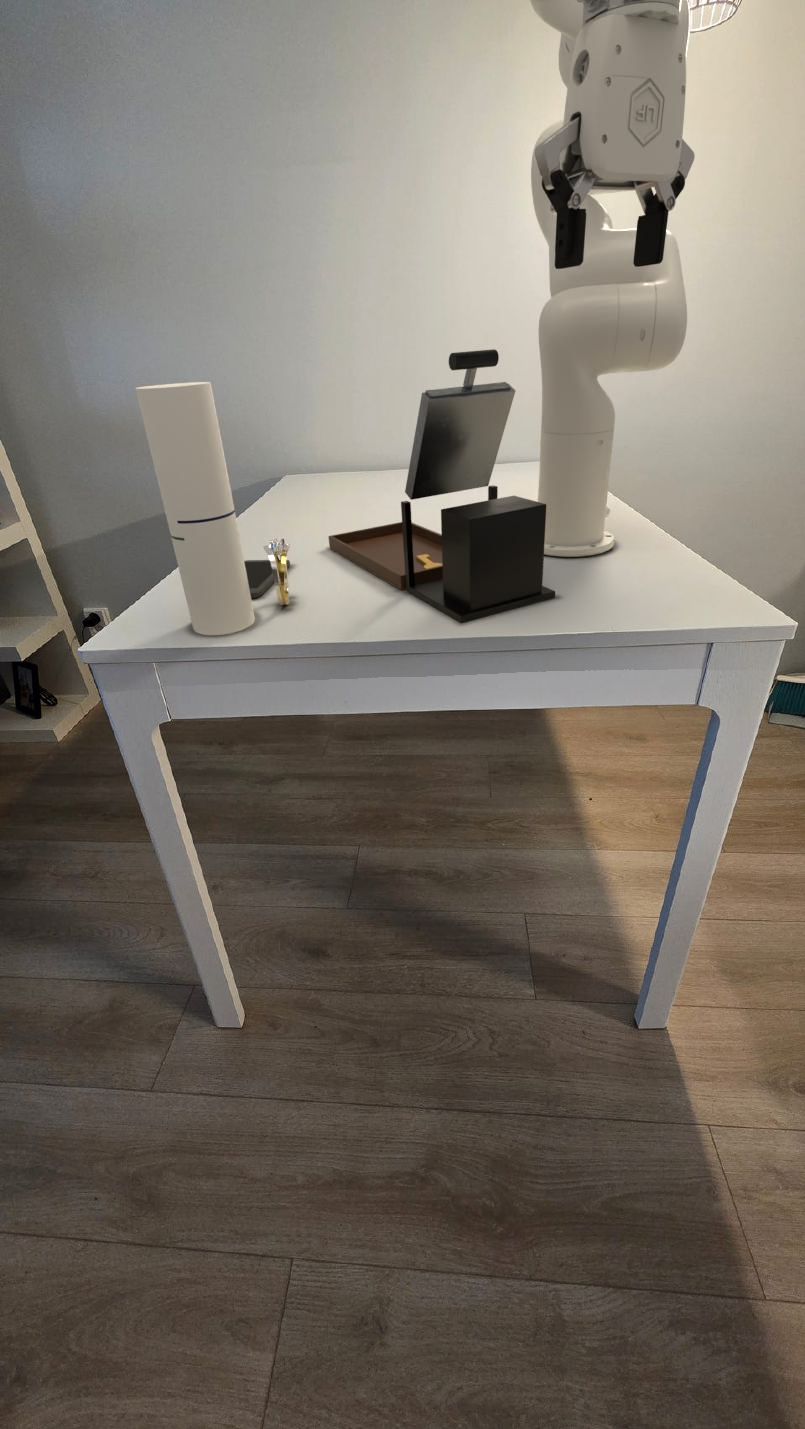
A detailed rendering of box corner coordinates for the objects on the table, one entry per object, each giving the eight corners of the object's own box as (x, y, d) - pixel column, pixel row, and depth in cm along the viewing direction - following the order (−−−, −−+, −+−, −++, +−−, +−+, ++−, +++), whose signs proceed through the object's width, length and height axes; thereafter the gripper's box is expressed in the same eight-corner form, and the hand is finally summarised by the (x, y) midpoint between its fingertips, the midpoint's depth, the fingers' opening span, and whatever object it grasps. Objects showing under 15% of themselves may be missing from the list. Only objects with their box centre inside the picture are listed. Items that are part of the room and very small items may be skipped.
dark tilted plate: (410, 500, 76) (402, 489, 77) (488, 486, 80) (479, 476, 81) (435, 362, 63) (425, 351, 64) (526, 354, 67) (515, 344, 68)
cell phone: (205, 598, 83) (204, 592, 83) (244, 564, 95) (243, 559, 94) (259, 598, 82) (258, 592, 81) (292, 564, 94) (291, 559, 93)
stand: (405, 590, 81) (400, 501, 76) (492, 570, 86) (493, 485, 81) (461, 623, 71) (459, 523, 66) (555, 597, 76) (561, 502, 71)
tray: (329, 548, 100) (328, 536, 99) (408, 532, 105) (407, 520, 104) (401, 590, 82) (400, 576, 81) (492, 568, 87) (492, 554, 86)
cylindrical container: (239, 636, 72) (189, 386, 59) (181, 634, 73) (120, 390, 61) (264, 612, 78) (223, 380, 65) (210, 611, 79) (159, 384, 67)
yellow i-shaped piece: (428, 570, 85) (428, 573, 86) (447, 567, 86) (447, 570, 86) (410, 556, 91) (410, 559, 91) (428, 553, 92) (428, 556, 92)
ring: (295, 613, 77) (285, 547, 73) (268, 615, 77) (257, 549, 73) (301, 593, 83) (291, 531, 79) (276, 595, 83) (265, 533, 79)
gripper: (578, -31, 45) (562, 263, 54) (745, 1, 52) (707, 260, 61) (515, 13, 51) (509, 273, 60) (672, 38, 58) (646, 269, 66)
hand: (609, 266), depth 60 cm, fingers open, 9 cm apart
